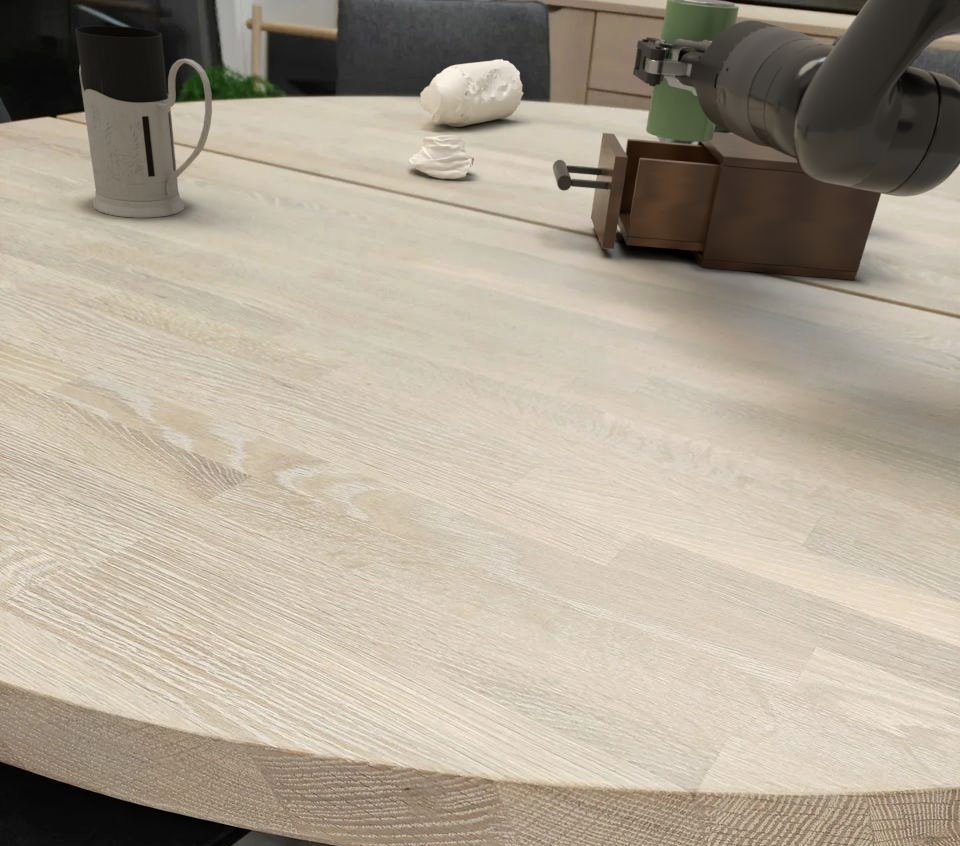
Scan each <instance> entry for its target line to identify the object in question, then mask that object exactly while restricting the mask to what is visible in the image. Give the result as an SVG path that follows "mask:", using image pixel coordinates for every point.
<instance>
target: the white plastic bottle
mask: <svg viewBox="0 0 960 846" xmlns="http://www.w3.org/2000/svg"><path fill="white" fill-rule="evenodd" d="M520 75H521V73H520V71H519V70H518V69H517V68H516V66H515V65H514V64H513V63H511V62H510V61H509V60H503V58H501V59H493V60H485V61H478V62H477V61H476V62H467V63H459V64H454V65H449V66H448V67H446V68H444V69H443V70H442V71H441V72H439V73H437V74H436V75H435V76H434V77H433V78H432V80H431V81H430V83H429V85H427V86H426V87H424V88H423V89H422V91H421V92H420V95H419V96H420V104H421V107H422V108H423V110H424V111H426V112H427V113H428V114H429V115H432V122H433V123H435V122H442V123H444V124H446V125H448V126H449V127H453V128H461V127H467V126H471V125H475V124H480V123H481V124H482V123H486V122H491V121H496V120H503V119H506V118H509V117H511V116H512V115H513V114H514V113H515V112H516V111H517V110H518V108H519V106H520V105H521V101H522V97H523V95H524V94H525V93H524V92H523V83H522V81H521V76H520Z"/></svg>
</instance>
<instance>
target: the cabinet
mask: <svg viewBox="0 0 960 846" xmlns="http://www.w3.org/2000/svg"><path fill="white" fill-rule="evenodd" d="M697 145H704V146H705V147H706V148H707V149H708V150H709V151H710V152H711V153H712V154H713V156H714V157H715V158H716V159H717V160H718V161H719V162H720V163H721V165H720V170H719V174H718V179H717V184H716V189H715V194H714V199H713V203H712V208H711V213H710V218H709V223H708V227H707V232H706V237H705V242H704V247H703V251H693V250H690V251H691V253H692V255H693V256H694V258H695V260H696V262H697V263H698V264H699V267H700V268H703V269H713V270H725V271H727V270H728V271H740V272H751V273H763V274H774V275H775V274H776V275H777V274H778V275H786V276H787V275H788V276H801V277H813V278H824V279H825V278H826V279H836V280H837V279H838V280H848V281H855V280H856V279H857V276H858V272H859V268H860V265H861V261H862V258H863V256H864V252H865V250H866V249H865V248H866V245H867V241H868V238H869V235H870V232H871V229H872V225H873V222H874V219H875V215H876V213H877V209H878V205H879V202H880V199H881V195H882V193H877V192H872V191H866V190H861V189H856V188H851V187H846V186H840V185H834V184H829V183H824V182H820V181H818V180H815V179H813V178H811V177H809V176H808V175H807V174H805V173H804V172H803V171H802V169H801V168H800V166H799V164H798V162H797V160H796V158H793V157H790V156H788V155H786V154H783V153H781V152H779V151H777V150H775V149H773V148H771V147H765V146H760V145H757V144H755V143H752V142H750V141H748V140H746V139H743V138H741V137H739V136H737V135H735V134H731V133H720V132H714V135H713V139H712V140H709V141H702V142H697Z"/></svg>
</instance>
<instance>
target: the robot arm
mask: <svg viewBox="0 0 960 846" xmlns="http://www.w3.org/2000/svg"><path fill="white" fill-rule="evenodd" d="M864 3H865V4H864V5H863V6H862V7H861V9H860V10H859V12H858V13H857V15H856V17H855V18H854V19H853V20H852V22H851V23H850V25H849V26H848V28H847V29H846V31H845V32H844V33H843V34H842V35H841V37H840V38H839V40H838V41H837V42H836V44H835V45H833V44H829V43H825V42H822V41H818V40H815V39H814V38H813V37H810V35H807V34H805V33H803V32H800V31H797V30H793V29H789V28H785V27H782V26H778V25H775V24H771V23H767V22H763V21H759V20H743V21H740V22H739V21H738V22H736V24H734V25H732V26H730V27H728V28H727V29H725V30H724V31H723V32H721V33H720V34H719V35H718V36H717V37H716V38H715V39H714V40H703V41H697V40H692V39H676V40H675V42H674V43H670V42H666V40H662V39H661V38H656V37H645V38H642V40H639V39H638V40H637V45H636V55H635V60H634V61H635V62H634V67H633V70H632V75H633V76H635V77H636V78H638V79H639V80H640V81H642V82H643V83H645V84H647V85H648V86H649V87H653V86H656V85H660V83H662V82H663V78H666V79H667V81H668V84H669V86H672V87H676V88H680V89H685V90H689V91H691V92H692V93H693V95H695V96H697V97H698V100H699V103H700V106H701V108H702V110H703V112H704V113H705V115H706V116H707V118H708V119H709V120H710V121H711V122H713V123H714V124H715V125H717V126H719V127H721V128H723V129H725V130H727V131H729V132H731V133H733V134H735V135H737V136H739V137H741V138H743V139H746V140H748V141H750V142H752V143H755V144H757V145H760V146H765V147H771V148H773V149H775V150H777V151H779V152H781V153H783V154H786V155H788V156H790V157H793V158H796V160H797V162H798V164H799V166H800V168H801V169H802V171H803V172H804V173H805V174H807V175H808V176H809V177H811V178H813V179H815V180H818V181H820V182H824V183H829V184H834V185H840V186H846V187H851V188H856V189H861V190H866V191H872V192H877V193H881V195H882V194H883V195H887V196H892V197H893V196H894V197H903V198H904V197H914V196H918V195H921V194H922V195H923V194H925V193H927V192H929V191H931V190H934V189H936V188H937V187H938V186H940V185H941V184H943V183H944V182H945V181H946V180H948V179H949V178H950V177H951V176H952V175H953V173H955V171H956V170H957V169H958V167H959V166H960V84H959V82H958V81H956V80H955V79H953V78H952V77H950V76H948V75H945V74H943V73H939V72H935V71H930V70H927V69H922V68H918V67H914V66H911V65H912V64H913V63H914V62H915V61H916V60H917V59H918V58H919V56H920V55H921V54H922V53H923V52H924V51H925V50H926V49H927V48H928V47H929V46H930V45H932V43H934V42H936V41H938V40H940V39H943V38H946V37H952V36H960V0H866V2H864ZM691 49H695V51H692V52H689V51H690V50H691ZM669 51H671V52H672V59H668V54H669Z"/></svg>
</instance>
